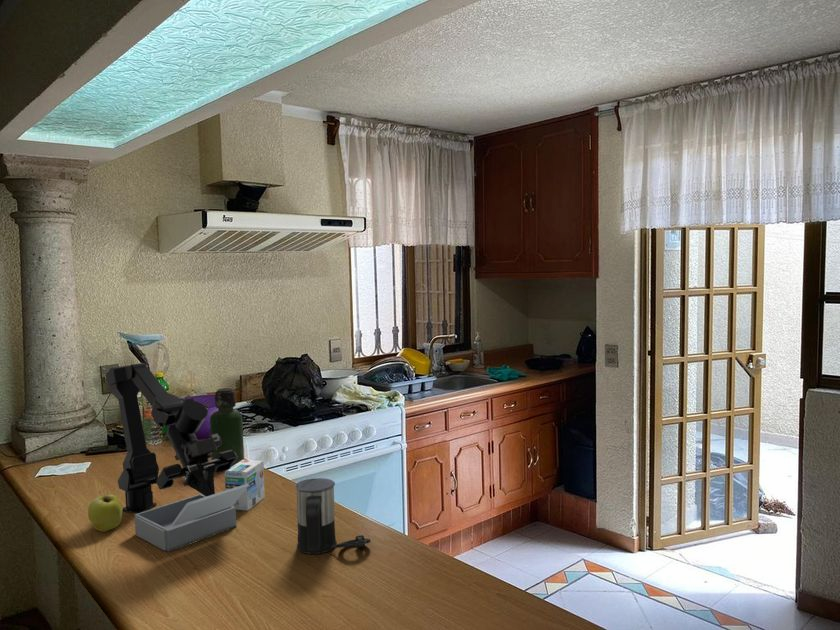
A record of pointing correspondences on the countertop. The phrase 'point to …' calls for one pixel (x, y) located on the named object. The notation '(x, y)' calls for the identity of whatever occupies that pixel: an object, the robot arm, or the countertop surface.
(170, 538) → the grey shallow open box
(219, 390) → the green bottle
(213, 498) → the grey box lid
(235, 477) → the light bulb box
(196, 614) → the countertop surface
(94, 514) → the apple
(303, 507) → the milk frother
